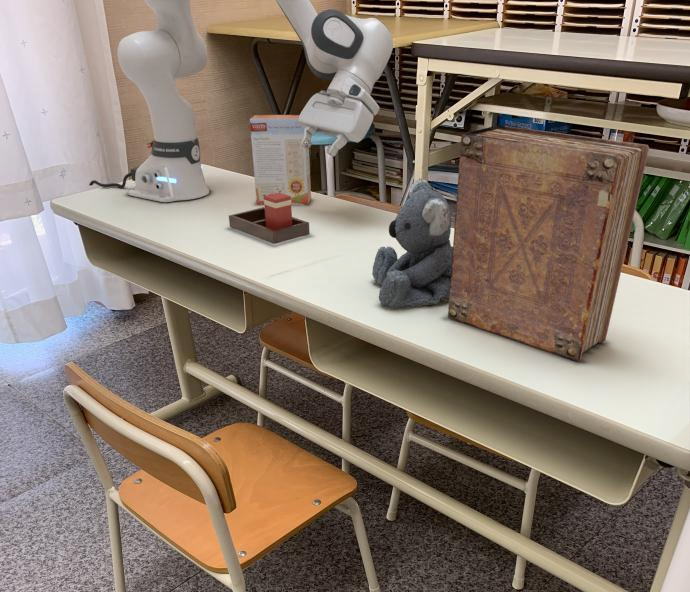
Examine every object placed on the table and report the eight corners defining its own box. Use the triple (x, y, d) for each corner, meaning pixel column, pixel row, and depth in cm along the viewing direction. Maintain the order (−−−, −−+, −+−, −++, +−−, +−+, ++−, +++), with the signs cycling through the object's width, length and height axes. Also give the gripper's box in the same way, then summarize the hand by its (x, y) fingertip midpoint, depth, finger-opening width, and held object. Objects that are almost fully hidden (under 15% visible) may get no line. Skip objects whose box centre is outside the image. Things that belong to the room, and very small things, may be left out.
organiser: (229, 229, 166) (228, 215, 164) (264, 220, 171) (263, 207, 169) (274, 246, 155) (273, 231, 153) (309, 236, 160) (309, 222, 159)
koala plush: (369, 277, 138) (370, 174, 127) (458, 274, 139) (466, 171, 128) (381, 312, 124) (383, 199, 113) (479, 307, 125) (491, 196, 114)
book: (606, 343, 113) (651, 145, 95) (578, 362, 107) (621, 156, 90) (476, 302, 127) (495, 124, 110) (446, 318, 122) (461, 132, 104)
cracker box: (311, 199, 187) (308, 114, 175) (308, 205, 182) (305, 118, 170) (260, 198, 188) (254, 113, 176) (256, 204, 183) (249, 117, 171)
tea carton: (266, 233, 160) (263, 196, 155) (281, 229, 163) (279, 192, 158) (277, 238, 158) (275, 199, 153) (293, 234, 160) (291, 196, 155)
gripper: (310, 80, 160) (281, 135, 161) (369, 91, 147) (336, 150, 149) (326, 98, 165) (298, 150, 166) (385, 109, 152) (353, 166, 154)
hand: (317, 150), depth 157 cm, fingers open, 8 cm apart
